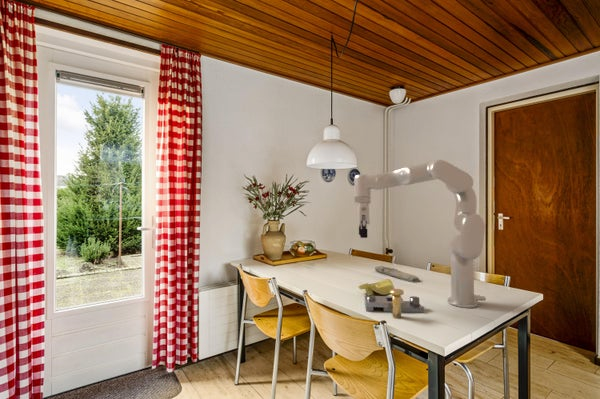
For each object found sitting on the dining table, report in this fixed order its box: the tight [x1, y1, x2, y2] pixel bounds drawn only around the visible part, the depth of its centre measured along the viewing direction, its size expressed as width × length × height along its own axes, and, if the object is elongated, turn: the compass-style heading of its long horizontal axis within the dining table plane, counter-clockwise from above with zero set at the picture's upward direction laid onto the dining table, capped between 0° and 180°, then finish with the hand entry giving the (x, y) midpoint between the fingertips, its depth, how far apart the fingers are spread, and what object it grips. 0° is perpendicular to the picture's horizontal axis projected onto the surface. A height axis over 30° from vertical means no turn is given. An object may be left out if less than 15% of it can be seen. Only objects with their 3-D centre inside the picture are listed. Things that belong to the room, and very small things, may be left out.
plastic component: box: [357, 278, 396, 296], centre depth 167 cm, size 20×7×10 cm
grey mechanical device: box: [364, 295, 424, 314], centre depth 144 cm, size 24×9×5 cm, turn 83°
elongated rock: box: [374, 265, 420, 283], centre depth 202 cm, size 35×5×10 cm
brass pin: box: [389, 288, 404, 319], centre depth 135 cm, size 6×6×11 cm
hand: (363, 236), depth 154 cm, fingers open, 9 cm apart
